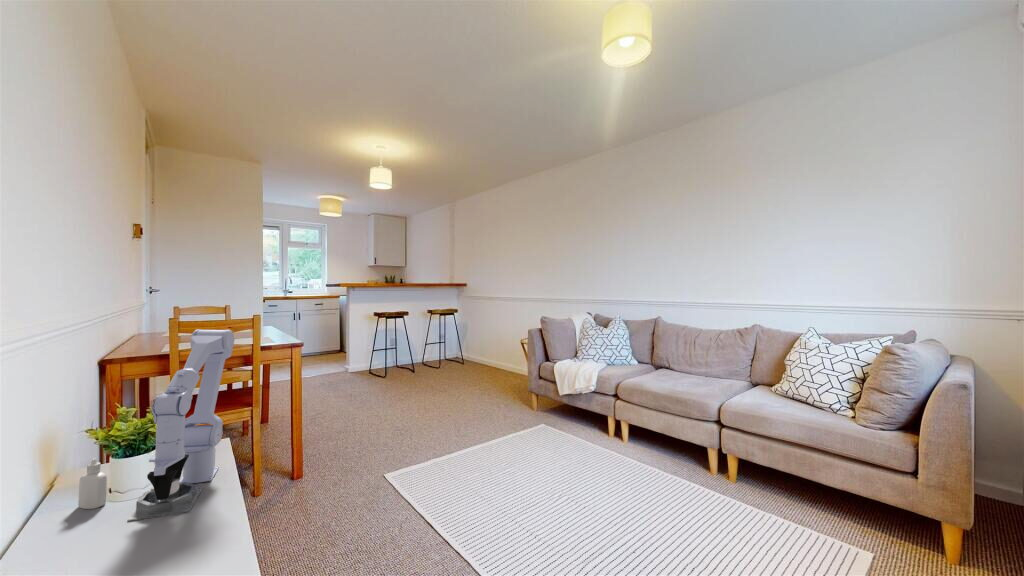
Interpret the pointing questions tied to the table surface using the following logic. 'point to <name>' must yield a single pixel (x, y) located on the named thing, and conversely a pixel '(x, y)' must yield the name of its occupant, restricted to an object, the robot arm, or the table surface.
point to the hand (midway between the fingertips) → (168, 491)
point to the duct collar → (166, 503)
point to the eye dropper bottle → (92, 487)
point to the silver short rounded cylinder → (173, 492)
